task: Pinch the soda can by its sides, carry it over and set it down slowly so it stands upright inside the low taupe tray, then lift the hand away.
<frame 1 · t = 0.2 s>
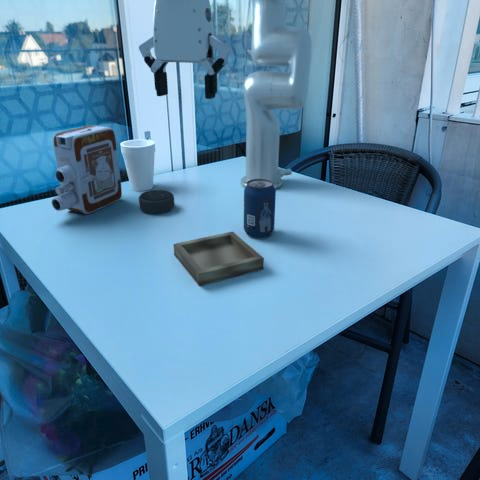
hand: (186, 96, 78), 31 cm above the table, fingers open, 9 cm apart
soda can: (258, 234, 97), on the table
foam cup: (142, 188, 125), on the table
smart speaker: (157, 209, 111), on the table
taupe tray: (217, 261, 85), on the table
cine camera: (88, 209, 110), on the table
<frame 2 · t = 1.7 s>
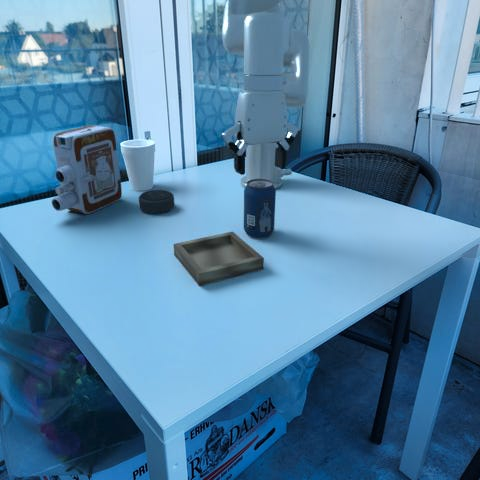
hand: (260, 170, 90), 15 cm above the table, fingers open, 9 cm apart
nothing on the table moved.
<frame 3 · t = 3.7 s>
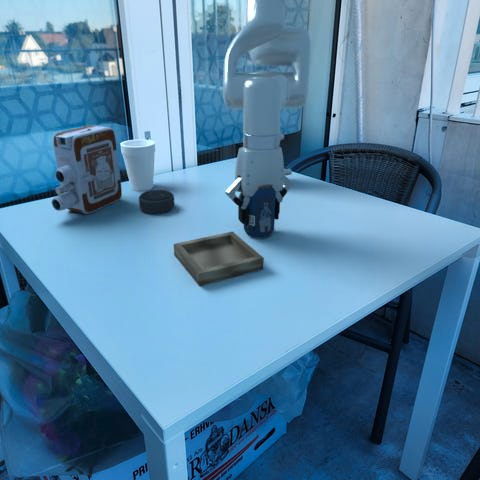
hand: (259, 219, 96), 3 cm above the table, fingers closed on soda can, 7 cm apart
soda can: (258, 233, 97), on the table, touching gripper
everything else where it was.
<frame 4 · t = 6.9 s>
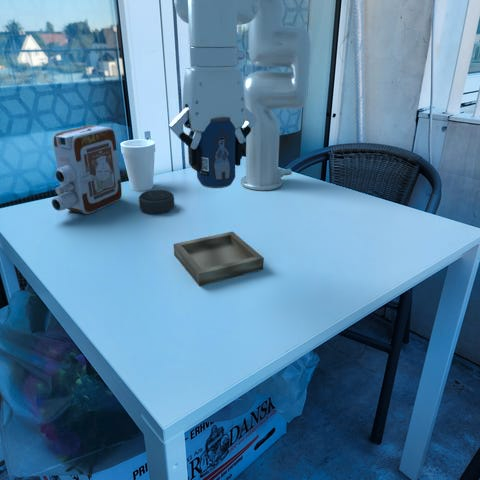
hand: (215, 165, 77), 20 cm above the table, fingers closed on soda can, 7 cm apart
soda can: (216, 184, 78), point 16 cm above the table, touching gripper
everything else where it was.
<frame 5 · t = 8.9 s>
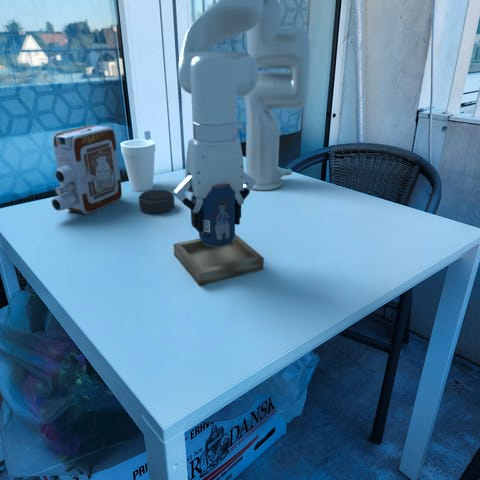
hand: (216, 225, 82), 8 cm above the table, fingers closed on soda can, 7 cm apart
soda can: (217, 241, 83), point 5 cm above the table, touching gripper
everything else where it was.
when the fingers open (5 cm above the table, at t = 10.5 s): soda can drops 1 cm, resting on taupe tray.
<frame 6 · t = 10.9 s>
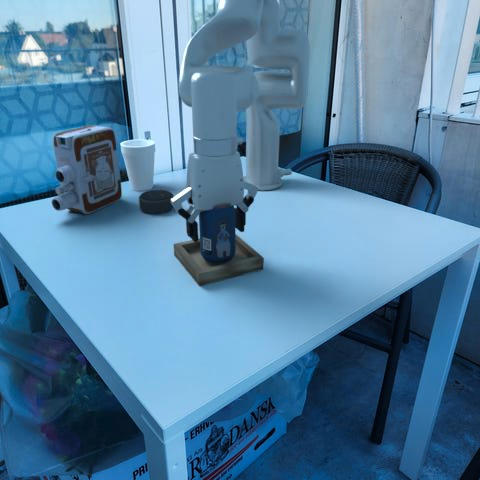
hand: (216, 234, 82), 6 cm above the table, fingers open, 9 cm apart
soda can: (218, 258, 85), point 1 cm above the table, touching taupe tray
everything else where it was.
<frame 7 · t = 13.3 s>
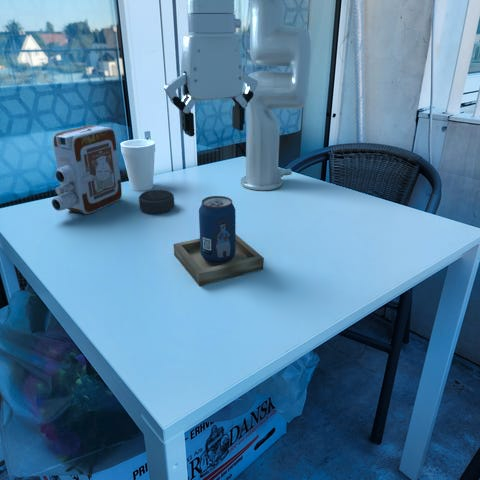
hand: (214, 131, 78), 25 cm above the table, fingers open, 9 cm apart
nothing on the table moved.
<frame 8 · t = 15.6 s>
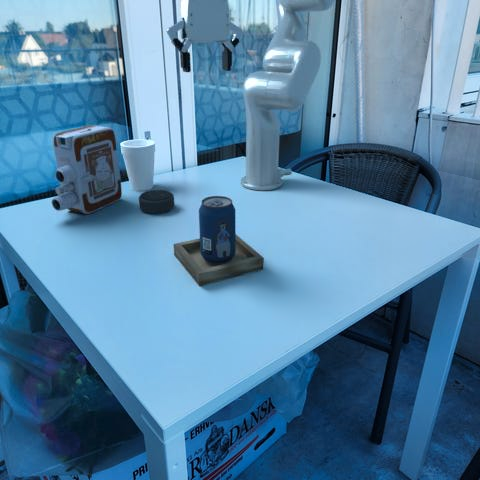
hand: (207, 71, 95), 33 cm above the table, fingers open, 9 cm apart
nothing on the table moved.
at the end: soda can 0.2 cm off-centre on the taupe tray, point 0.6 cm above the taupe tray's base; soda can tilted 0°; the gripper is holding nothing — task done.
